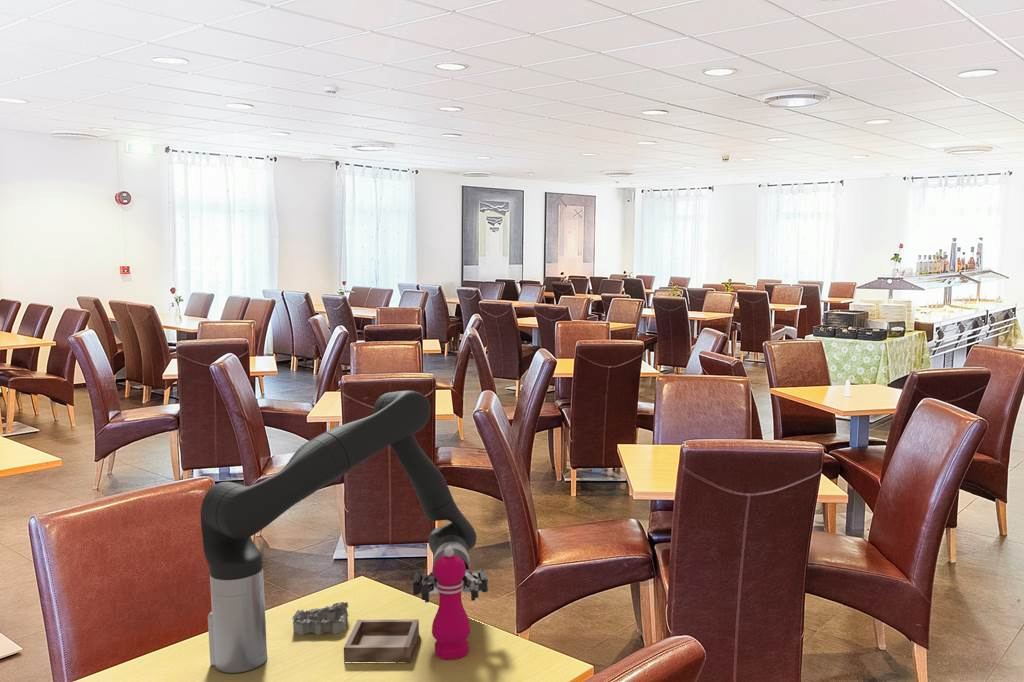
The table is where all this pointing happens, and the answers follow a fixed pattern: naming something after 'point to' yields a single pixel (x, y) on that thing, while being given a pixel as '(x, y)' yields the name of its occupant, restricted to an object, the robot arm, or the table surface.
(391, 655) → the tray
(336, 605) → the egg carton
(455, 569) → the pepper mill
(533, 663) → the table surface
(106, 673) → the table surface
